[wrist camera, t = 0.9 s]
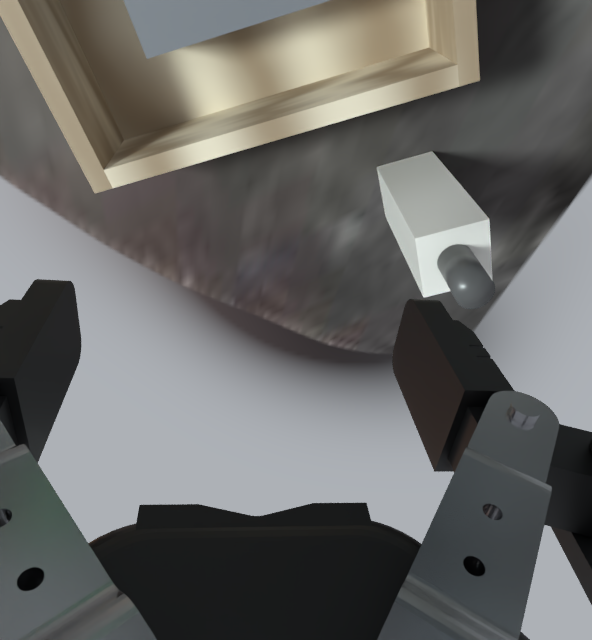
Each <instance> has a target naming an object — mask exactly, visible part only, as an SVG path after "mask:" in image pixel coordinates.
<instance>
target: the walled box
mask: <svg viewBox="0 0 592 640" xmlns="http://www.w3.org/2000/svg"><path fill="white" fill-rule="evenodd" d="M0 16H1V18H2V20H3V21H4V23H5V25H6V27H7V29H8V31H9V33H10V35H11V36H12V38H13V40H14V42H15V44H16V46H17V48H18V50H19V52H20V53H21V55H22V57H23V59H24V61H25V63H26V65H27V67H28V68H29V70H30V72H31V74H32V76H33V78H34V80H35V82H36V84H37V85H38V87H39V89H40V91H41V93H42V95H43V97H44V99H45V100H46V102H47V104H48V106H49V108H50V110H51V112H52V114H53V116H54V117H55V119H56V121H57V123H58V125H59V127H60V129H61V131H62V132H63V134H64V136H65V138H66V140H67V142H68V144H69V146H70V148H71V149H72V151H73V153H74V155H75V157H76V159H77V161H78V163H79V164H80V166H81V168H82V170H83V172H84V174H85V176H86V178H87V180H88V181H89V183H90V185H91V187H92V189H93V191H94V193H98V192H102V191H105V190H109V189H112V188H115V187H119V186H122V185H126V184H129V183H132V182H136V181H139V180H143V179H146V178H149V177H153V176H156V175H160V174H163V173H167V172H170V171H173V170H177V169H180V168H184V167H187V166H190V165H194V164H197V163H201V162H204V161H207V160H211V159H214V158H218V157H221V156H224V155H228V154H231V153H235V152H238V151H242V150H245V149H248V148H252V147H255V146H259V145H262V144H265V143H269V142H272V141H276V140H279V139H282V138H286V137H289V136H293V135H296V134H300V133H303V132H306V131H310V130H313V129H317V128H320V127H323V126H327V125H330V124H334V123H337V122H340V121H344V120H347V119H351V118H354V117H357V116H361V115H364V114H368V113H371V112H375V111H378V110H381V109H385V108H388V107H392V106H395V105H398V104H402V103H405V102H409V101H412V100H415V99H419V98H422V97H426V96H429V95H433V94H436V93H439V92H443V91H446V90H450V89H453V88H456V87H460V86H463V85H467V84H470V83H473V82H477V81H480V72H479V52H478V32H477V13H476V0H330V1H327V2H324V3H321V4H318V5H315V6H311V7H308V8H305V9H302V10H299V11H296V12H293V13H289V14H286V15H283V16H280V17H277V18H274V19H271V20H268V21H264V22H261V23H258V24H255V25H252V26H249V27H246V28H243V29H239V30H236V31H233V32H230V33H227V34H224V35H221V36H217V37H214V38H211V39H208V40H205V41H202V42H199V43H196V44H192V45H189V46H186V47H183V48H180V49H177V50H174V51H171V52H167V53H164V54H161V55H158V56H155V57H152V58H149V59H147V58H146V56H145V53H144V51H143V48H142V46H141V43H140V41H139V38H138V36H137V33H136V31H135V28H134V26H133V23H132V21H131V18H130V16H129V13H128V11H127V8H126V6H125V3H124V1H123V0H0Z"/></svg>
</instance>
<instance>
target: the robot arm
mask: <svg viewBox="0 0 592 640" xmlns="http://www.w3.org/2000/svg"><path fill="white" fill-rule="evenodd" d="M80 353H81V334H80V326H79V319H78V311H77V303H76V295H75V288H74V285H73V283H72V282H71V281H59V280H39V279H37V280H35V281H34V282H33V284H32V285H31V286H30V288H29V289H28V291H27V292H26V294H25V295H24V297H23V298H22V300H8V301H7V302H5V303H3V304H2V305H0V640H530V639H528V638H527V637H526V636H525V635H524V634H523V633H522V632H521V626H522V622H523V618H524V613H525V608H526V604H527V600H528V595H529V591H530V586H531V582H532V577H533V572H534V568H535V564H536V559H537V555H538V550H539V546H540V541H541V537H542V532H543V528H544V525H548V526H551V527H552V530H553V531H554V533H555V535H556V537H557V539H558V541H559V543H560V545H561V547H562V549H563V551H564V553H565V555H566V556H567V558H568V560H569V562H570V564H571V566H572V568H573V570H574V572H575V574H576V576H577V578H578V579H579V581H580V583H581V585H582V587H583V589H584V591H585V593H586V595H587V597H588V598H589V601H590V603H591V604H592V432H589V431H584V430H580V429H576V428H572V427H568V426H564V425H560V424H559V421H558V419H557V417H556V415H555V414H554V412H553V411H552V410H551V409H550V408H549V407H548V406H546V405H545V404H544V403H542V402H541V401H539V400H538V399H536V398H534V397H532V396H530V395H527V394H524V393H520V392H516V391H514V390H513V388H512V387H511V385H510V384H509V382H508V381H507V380H506V378H505V377H504V375H503V374H502V373H501V371H500V369H499V368H498V367H497V365H496V364H495V362H494V361H493V359H490V355H489V353H488V352H487V351H486V349H485V348H483V345H482V343H481V342H480V340H479V339H478V338H477V336H476V335H475V333H474V332H473V331H471V330H470V329H469V328H467V327H466V326H465V325H464V324H462V323H461V322H460V321H458V320H452V318H451V317H450V315H449V314H448V312H447V311H446V309H445V308H444V306H443V305H442V303H441V302H440V301H438V300H419V299H409V300H408V301H407V303H406V305H405V307H404V311H403V315H402V319H401V322H400V326H399V330H398V334H397V337H396V341H395V345H394V349H393V356H392V365H393V371H394V374H395V377H396V379H397V381H398V384H399V386H400V389H401V391H402V393H403V396H404V399H405V401H406V403H407V406H408V408H409V411H410V413H411V416H412V418H413V420H414V423H415V425H416V428H417V430H418V433H419V435H420V437H421V440H422V442H423V445H424V447H425V450H426V452H427V454H428V457H429V459H430V461H431V464H432V467H433V469H434V471H454V475H453V477H452V479H451V481H450V484H449V486H448V488H447V490H446V492H445V494H444V497H443V499H442V501H441V503H440V505H439V508H438V510H437V512H436V514H435V516H434V518H433V521H432V523H431V525H430V528H429V530H428V532H427V534H426V536H425V538H424V541H423V543H422V544H421V543H419V542H418V541H416V540H415V539H413V538H412V537H410V536H408V535H406V534H404V533H403V532H401V531H399V530H396V529H394V528H392V527H390V526H387V525H384V524H381V523H378V522H374V521H371V519H370V515H369V511H368V508H367V503H312V504H308V505H304V506H301V507H296V508H293V509H288V510H284V511H280V512H276V513H272V514H268V515H264V516H250V515H245V514H240V513H236V512H231V511H227V510H222V509H217V508H213V507H208V506H203V505H199V504H194V505H192V504H191V505H190V504H187V505H140V507H139V512H138V518H137V523H136V524H133V525H129V526H125V527H122V528H120V529H117V530H114V531H111V532H110V533H107V534H105V535H103V536H101V537H99V538H97V539H95V540H93V541H92V542H90V543H88V542H87V541H86V539H85V538H84V536H83V535H82V533H81V531H80V530H79V529H78V527H77V525H76V523H75V522H74V520H73V519H72V517H71V516H70V514H69V512H68V511H67V509H66V508H65V507H64V504H63V503H62V501H61V500H60V498H59V497H58V495H57V494H56V492H55V490H54V489H53V487H52V486H51V484H50V482H49V481H48V479H47V478H46V476H45V474H44V473H43V471H42V470H41V468H40V467H39V465H38V461H39V458H40V456H41V453H42V451H43V448H44V446H45V444H46V441H47V439H48V436H49V434H50V431H51V429H52V426H53V424H54V422H55V419H56V417H57V414H58V412H59V409H60V407H61V405H62V402H63V400H64V397H65V395H66V392H67V390H68V387H69V385H70V383H71V380H72V378H73V375H74V373H75V370H76V368H77V366H78V363H79V359H80Z"/></svg>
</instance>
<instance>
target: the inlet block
mask: <svg viewBox="0 0 592 640" xmlns="http://www.w3.org/2000/svg"><path fill="white" fill-rule="evenodd" d="M123 1H124V3H125V6H126V8H127V11H128V13H129V16H130V18H131V21H132V23H133V26H134V28H135V31H136V33H137V36H138V38H139V41H140V43H141V46H142V48H143V51H144V53H145V56H146V58H147V59H149V58H152V57H155V56H158V55H161V54H164V53H167V52H171V51H174V50H177V49H180V48H183V47H186V46H189V45H192V44H196V43H199V42H202V41H205V40H208V39H211V38H214V37H217V36H221V35H224V34H227V33H230V32H233V31H236V30H239V29H243V28H246V27H249V26H252V25H255V24H258V23H261V22H264V21H268V20H271V19H274V18H277V17H280V16H283V15H286V14H289V13H293V12H296V11H299V10H302V9H305V8H308V7H311V6H315V5H318V4H321V3H324V2H327V1H330V0H123Z"/></svg>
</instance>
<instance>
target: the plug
mask: <svg viewBox="0 0 592 640" xmlns="http://www.w3.org/2000/svg"><path fill="white" fill-rule="evenodd" d="M377 171H378V177H379V183H380V188H381V194H382V199H383V205H384V210H385V216H386V219H387V221H388V223H389V225H390V227H391V229H392V231H393V233H394V236H395V238H396V240H397V242H398V244H399V246H400V248H401V251H402V253H403V255H404V257H405V259H406V261H407V263H408V265H409V268H410V270H411V272H412V274H413V276H414V278H415V280H416V282H417V285H418V287H419V289H420V291H421V293H422V295H423V297H428V296H432V295H436V294H440V293H444V292H448V291H451V292H452V294H453V296H454V298H455V299H456V301H457V303H458V304H459V305H460V306H461V307H463V308H466V309H475V308H479V307H481V306H483V305H485V304H486V303H488V302H489V301H490V300H491V298H492V297H493V295H494V293H495V284H494V282H493V281H492V262H491V241H490V220H489V218H488V217H487V215H486V214H485V213H484V212H483V211H482V210H481V208H480V207H479V206H478V205H477V204H476V202H475V201H474V200H473V199H472V198H471V196H470V195H469V194H468V193H467V192H466V191H465V189H464V188H463V187H462V186H461V185H460V183H459V182H458V181H457V180H456V179H455V177H454V176H453V175H452V174H451V173H450V172H449V170H448V169H447V168H446V167H445V166H444V164H443V163H442V162H441V161H440V160H439V159H438V157H437V156H436V155H435V154H434V153H433V151H431V152H428V153H424V154H421V155H417V156H413V157H410V158H406V159H403V160H399V161H396V162H392V163H389V164H385V165H382V166H378V167H377Z"/></svg>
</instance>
